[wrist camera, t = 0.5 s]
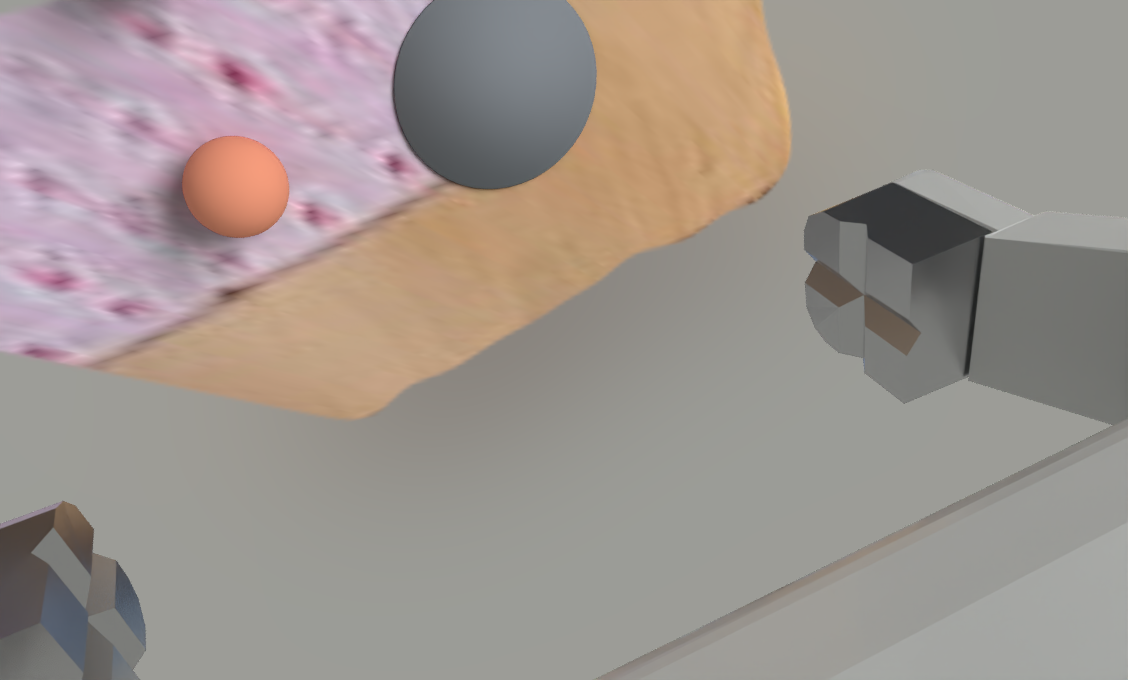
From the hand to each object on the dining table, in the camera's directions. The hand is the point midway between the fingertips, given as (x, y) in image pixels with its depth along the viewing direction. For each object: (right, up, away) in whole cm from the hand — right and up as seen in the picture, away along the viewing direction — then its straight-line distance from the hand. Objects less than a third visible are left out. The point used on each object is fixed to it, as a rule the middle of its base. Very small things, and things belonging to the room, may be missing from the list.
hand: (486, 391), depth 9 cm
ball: (-17, +9, +38) cm, 43 cm away
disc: (-3, +16, +44) cm, 47 cm away
